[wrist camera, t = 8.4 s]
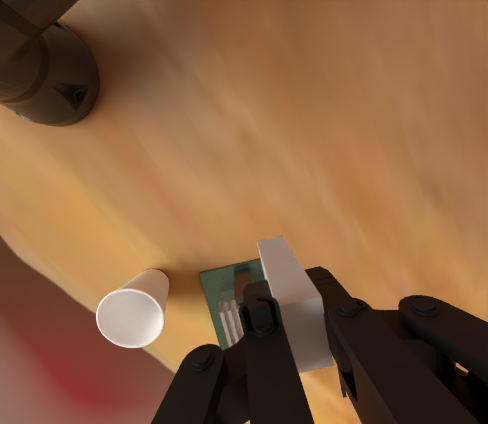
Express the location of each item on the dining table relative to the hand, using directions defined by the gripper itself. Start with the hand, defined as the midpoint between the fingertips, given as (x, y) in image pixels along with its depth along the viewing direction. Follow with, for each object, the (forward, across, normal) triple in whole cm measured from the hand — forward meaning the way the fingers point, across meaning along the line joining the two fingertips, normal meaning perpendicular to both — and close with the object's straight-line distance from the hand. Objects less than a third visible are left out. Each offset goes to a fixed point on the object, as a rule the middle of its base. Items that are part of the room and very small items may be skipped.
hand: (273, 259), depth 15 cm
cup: (+31, -21, -13) cm, 39 cm away
